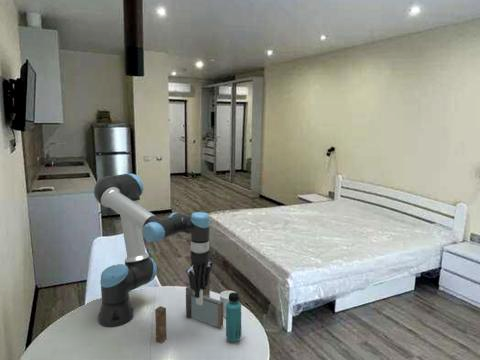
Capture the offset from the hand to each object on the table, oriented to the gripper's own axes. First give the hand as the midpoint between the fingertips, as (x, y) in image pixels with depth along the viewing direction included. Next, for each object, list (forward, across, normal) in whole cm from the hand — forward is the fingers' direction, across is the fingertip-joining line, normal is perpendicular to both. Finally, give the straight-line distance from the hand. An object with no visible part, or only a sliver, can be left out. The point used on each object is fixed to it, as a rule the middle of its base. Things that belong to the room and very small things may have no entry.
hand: (199, 303), depth 143 cm
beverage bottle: (+13, +6, -14) cm, 20 cm away
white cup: (+13, +19, 0) cm, 23 cm away
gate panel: (+12, +7, +2) cm, 14 cm away
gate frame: (+13, +3, +12) cm, 18 cm away
